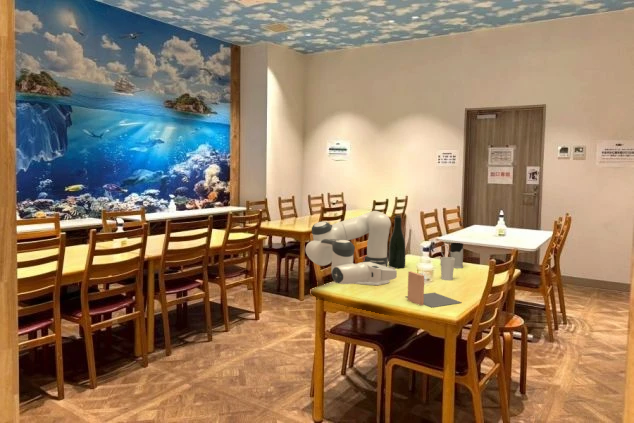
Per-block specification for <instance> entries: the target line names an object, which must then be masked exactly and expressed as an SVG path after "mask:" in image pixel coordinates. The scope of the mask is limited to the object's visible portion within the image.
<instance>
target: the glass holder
mask: <svg viewBox="0 0 634 423" xmlns="http://www.w3.org/2000/svg"><path fill="white" fill-rule="evenodd" d="M443 246H445V247H446V248H447V252H448V253H449V257H451V258H455V262H454V269H464V266H463V265H464V261H463V260H464V243H461V242H451V243H450V250H449V247H448V245H446V244H443V245H442V246H441V247H440V253H441V255H442V257H445V256H444V253H443V250H442V248H443Z"/></svg>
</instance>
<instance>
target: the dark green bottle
mask: <svg viewBox="0 0 634 423" xmlns="http://www.w3.org/2000/svg"><path fill="white" fill-rule="evenodd" d="M393 220H394V226H393V232H392V234H391V236H390V239H389V243H388V244H389V245H388V246H389V247H388V248H389V249H388V267H394V268H395V269H404V268H405V267H406V239H405V237H404V236H405V235H404V233H403V228H402V220H403V219H402V216H401V215H400V214H395V217H394V219H393Z"/></svg>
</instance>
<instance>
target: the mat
mask: <svg viewBox="0 0 634 423" xmlns="http://www.w3.org/2000/svg"><path fill="white" fill-rule="evenodd" d="M404 297H405V298H406V297H407V298H406V299H408V295H407V296H404ZM458 304H462V301H458V300H456V299H453V298H451V297H447V296H445V295H442V294H439V293H436V292H429V293H427V292H426V293H424V303H423V306H426V307H429V308H432V307H433V308H438V307H446V306H451V305H458Z"/></svg>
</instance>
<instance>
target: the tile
mask: <svg viewBox="0 0 634 423" xmlns="http://www.w3.org/2000/svg"><path fill="white" fill-rule="evenodd" d="M407 274H408V275H407V277H408V278H407V296H408V298H407V301H408V300H409V302H411V303H413V302H414V303H413V304H416V305H418V304H419V305H418V306H424V304H423V303H424V294H425V275H424V274H421V273H417V272H415V271H411V270H410V271H408V273H407Z"/></svg>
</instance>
